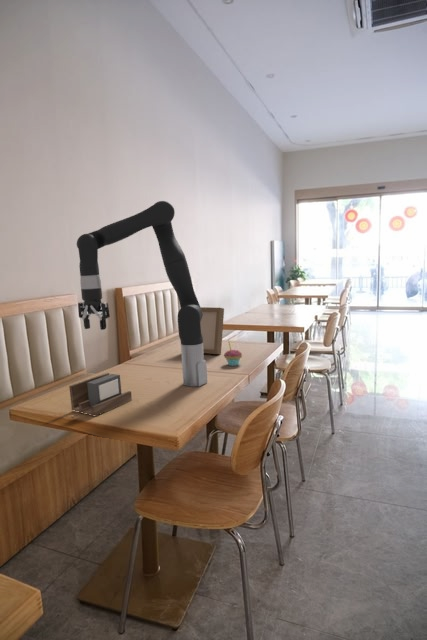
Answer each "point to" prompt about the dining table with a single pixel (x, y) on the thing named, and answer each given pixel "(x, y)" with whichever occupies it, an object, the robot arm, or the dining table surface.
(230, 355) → the cupcake
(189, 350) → the robot arm
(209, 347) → the photo frame
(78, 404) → the picture ledge
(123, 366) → the dining table surface
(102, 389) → the mini frame
